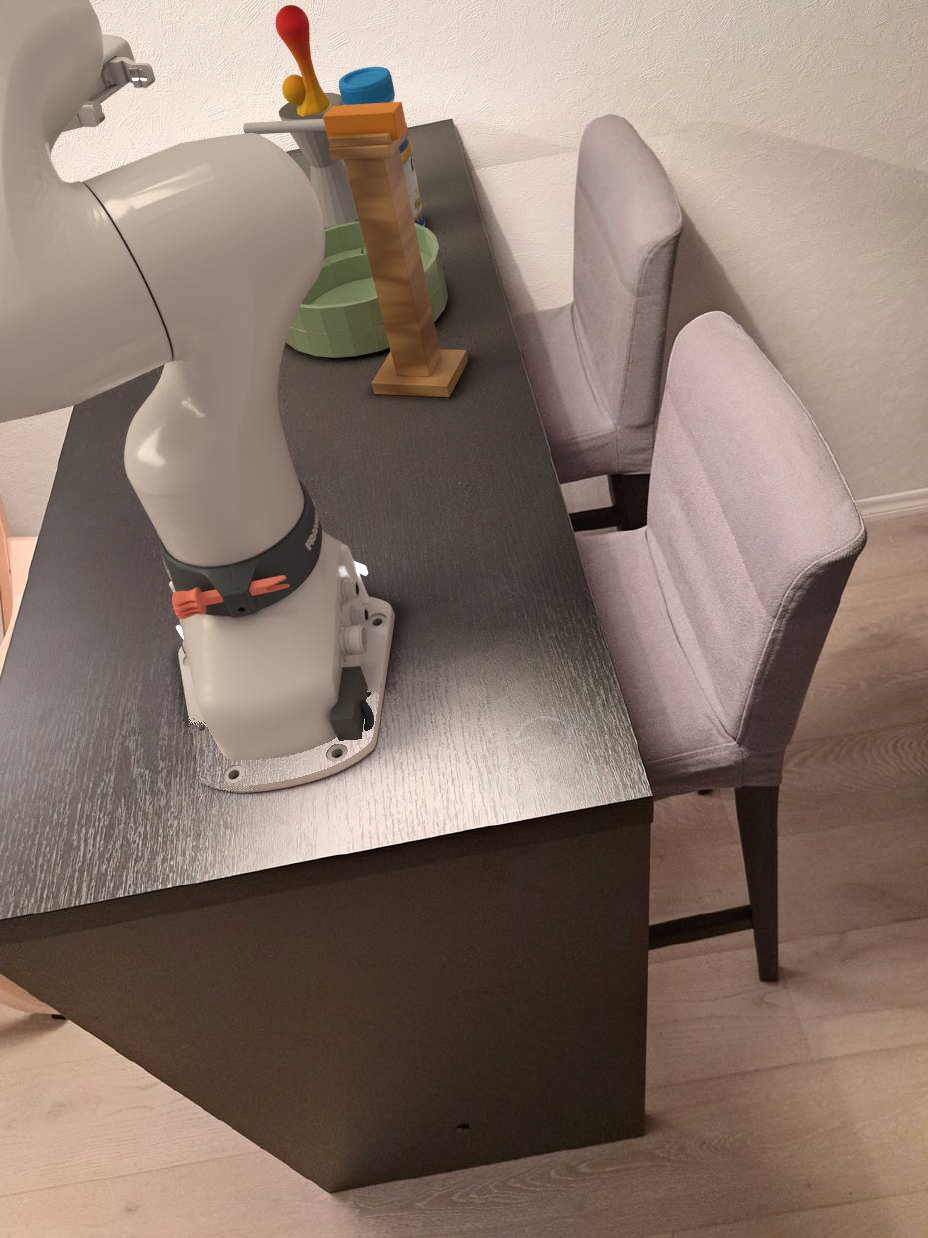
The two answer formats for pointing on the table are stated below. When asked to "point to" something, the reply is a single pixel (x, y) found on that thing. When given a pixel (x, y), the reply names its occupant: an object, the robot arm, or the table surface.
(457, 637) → the table surface
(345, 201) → the lava lamp
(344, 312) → the green pet bowl
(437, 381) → the shelf stand
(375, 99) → the beverage bottle
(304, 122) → the screwdriver
